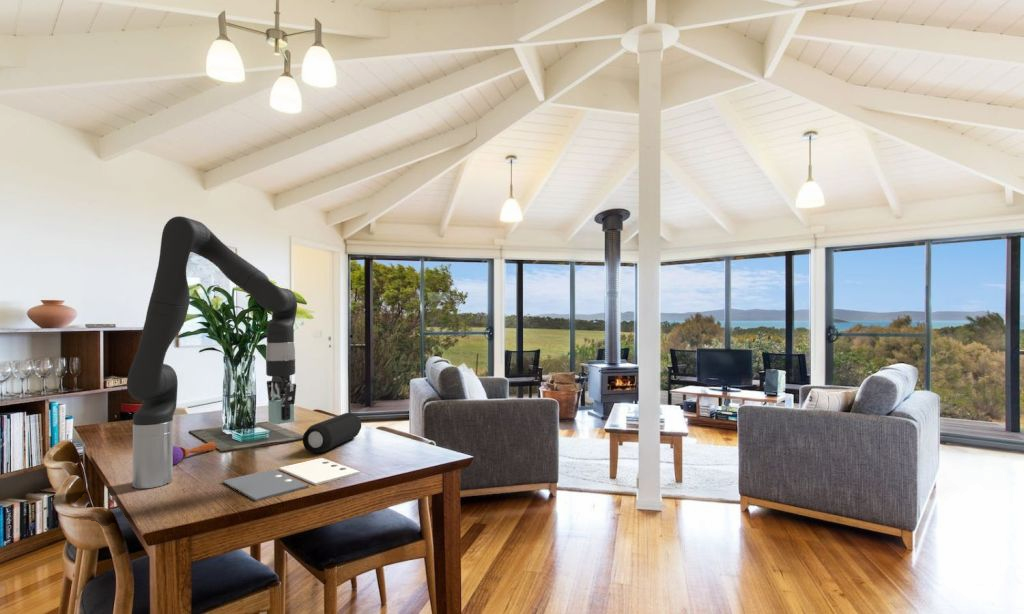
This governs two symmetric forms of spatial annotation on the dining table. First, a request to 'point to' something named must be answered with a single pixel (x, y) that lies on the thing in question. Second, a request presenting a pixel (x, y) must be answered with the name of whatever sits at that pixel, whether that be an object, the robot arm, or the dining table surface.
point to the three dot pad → (319, 471)
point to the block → (278, 412)
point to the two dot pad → (265, 484)
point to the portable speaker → (331, 432)
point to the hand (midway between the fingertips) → (281, 418)
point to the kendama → (190, 451)
